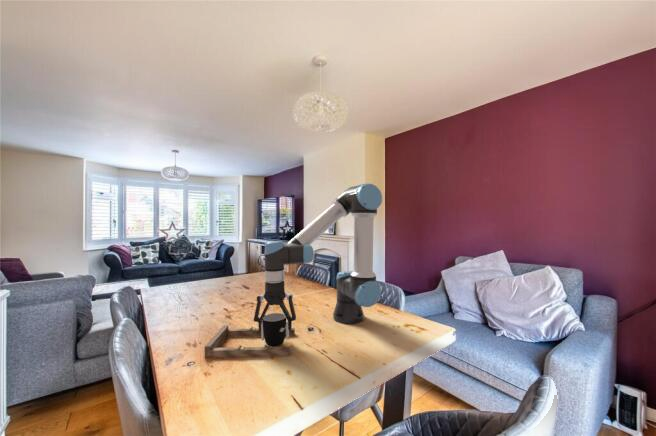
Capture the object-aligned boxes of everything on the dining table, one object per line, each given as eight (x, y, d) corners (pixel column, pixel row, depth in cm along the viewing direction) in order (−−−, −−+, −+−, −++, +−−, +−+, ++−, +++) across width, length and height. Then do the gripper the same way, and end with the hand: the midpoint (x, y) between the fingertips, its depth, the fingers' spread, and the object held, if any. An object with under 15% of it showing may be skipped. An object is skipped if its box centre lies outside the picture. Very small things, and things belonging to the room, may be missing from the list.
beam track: (294, 333, 115) (294, 324, 115) (289, 356, 95) (289, 344, 96) (223, 334, 114) (223, 325, 114) (204, 357, 94) (204, 346, 94)
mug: (281, 349, 98) (280, 321, 98) (258, 347, 100) (258, 320, 100) (292, 335, 110) (292, 310, 110) (272, 334, 112) (271, 309, 112)
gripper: (302, 278, 109) (303, 333, 109) (249, 279, 108) (250, 335, 108) (301, 282, 102) (302, 342, 102) (244, 283, 101) (244, 343, 101)
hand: (275, 338), depth 105 cm, fingers closed on mug, 9 cm apart
